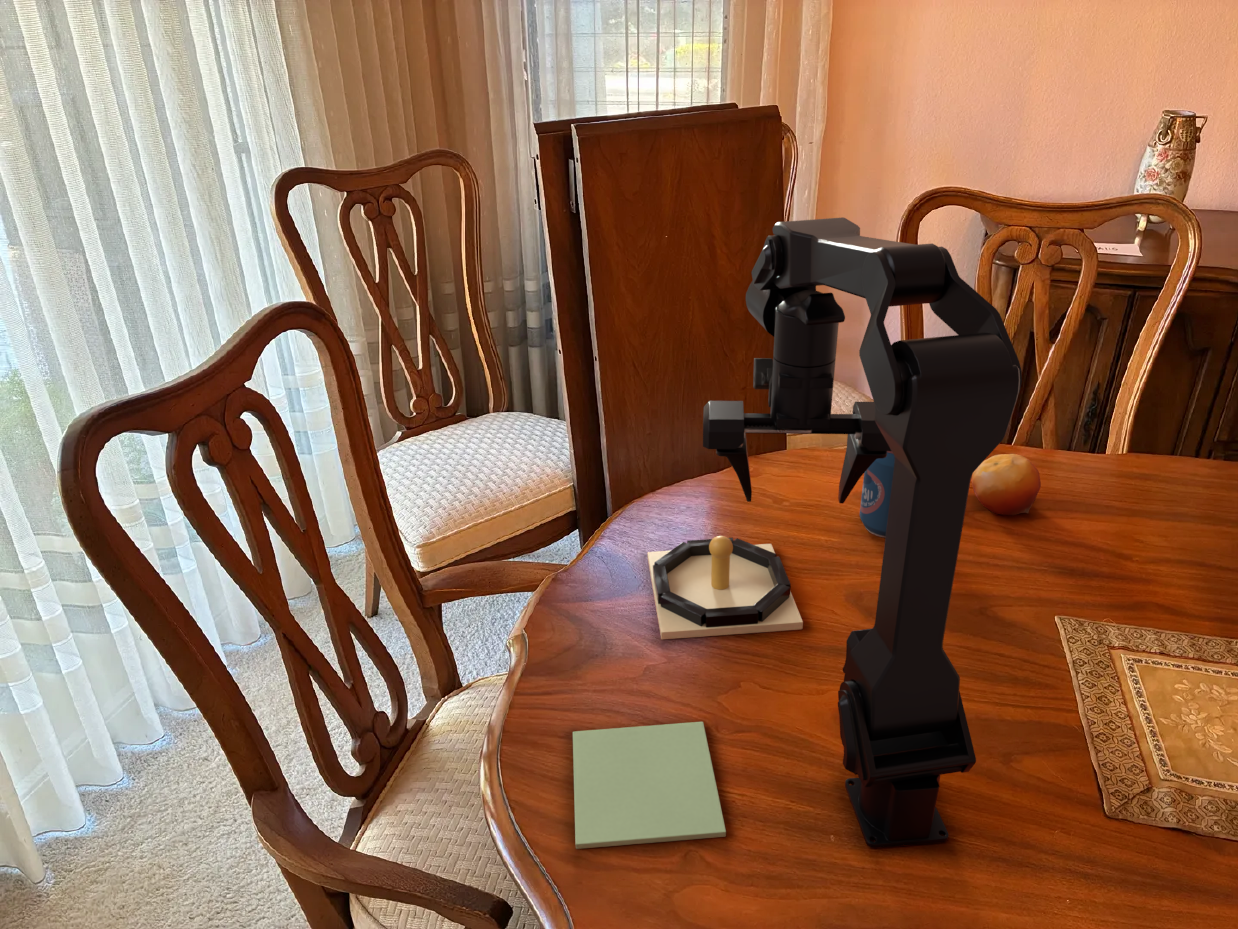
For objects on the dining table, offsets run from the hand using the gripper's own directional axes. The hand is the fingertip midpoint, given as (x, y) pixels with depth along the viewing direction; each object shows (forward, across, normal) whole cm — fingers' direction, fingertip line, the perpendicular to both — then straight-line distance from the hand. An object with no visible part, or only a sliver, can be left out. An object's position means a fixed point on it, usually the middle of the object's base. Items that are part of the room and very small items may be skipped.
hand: (794, 500), depth 87 cm
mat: (+14, +14, +25) cm, 32 cm away
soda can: (+14, -14, -17) cm, 26 cm away
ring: (+12, +7, -3) cm, 14 cm away
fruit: (+14, -29, -23) cm, 39 cm away
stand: (+14, +7, -3) cm, 16 cm away
